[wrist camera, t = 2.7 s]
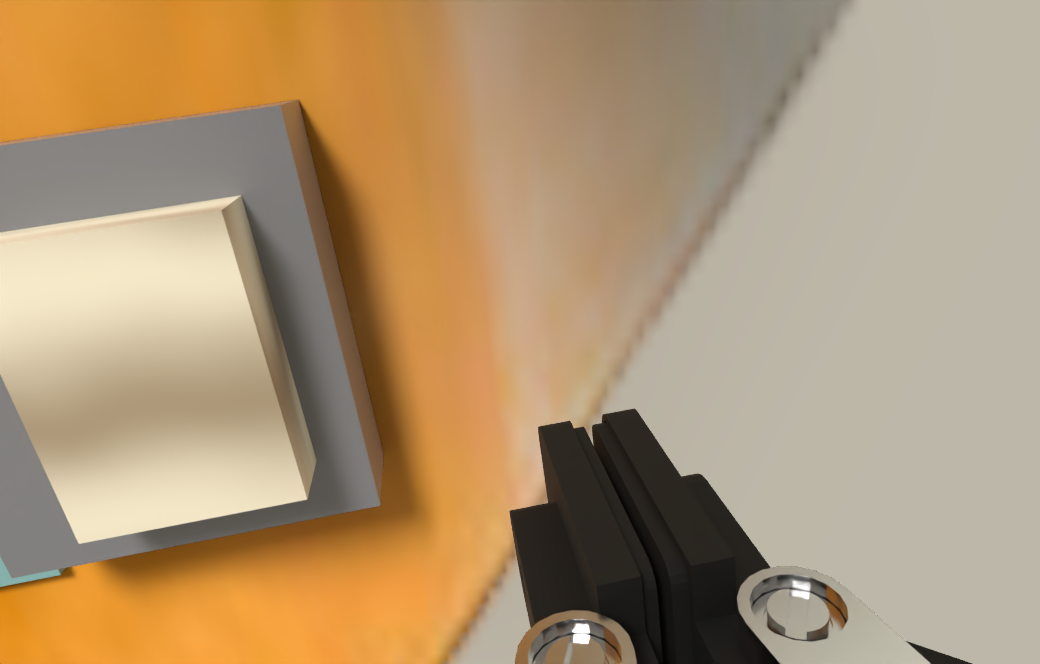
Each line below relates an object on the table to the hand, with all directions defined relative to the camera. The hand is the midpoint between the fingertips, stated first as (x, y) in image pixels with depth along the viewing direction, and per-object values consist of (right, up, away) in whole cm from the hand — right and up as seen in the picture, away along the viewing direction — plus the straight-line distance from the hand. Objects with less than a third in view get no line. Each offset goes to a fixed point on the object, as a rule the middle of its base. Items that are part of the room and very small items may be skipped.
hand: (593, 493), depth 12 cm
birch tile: (-11, +2, +7) cm, 13 cm away
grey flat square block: (-12, +3, +10) cm, 16 cm away
